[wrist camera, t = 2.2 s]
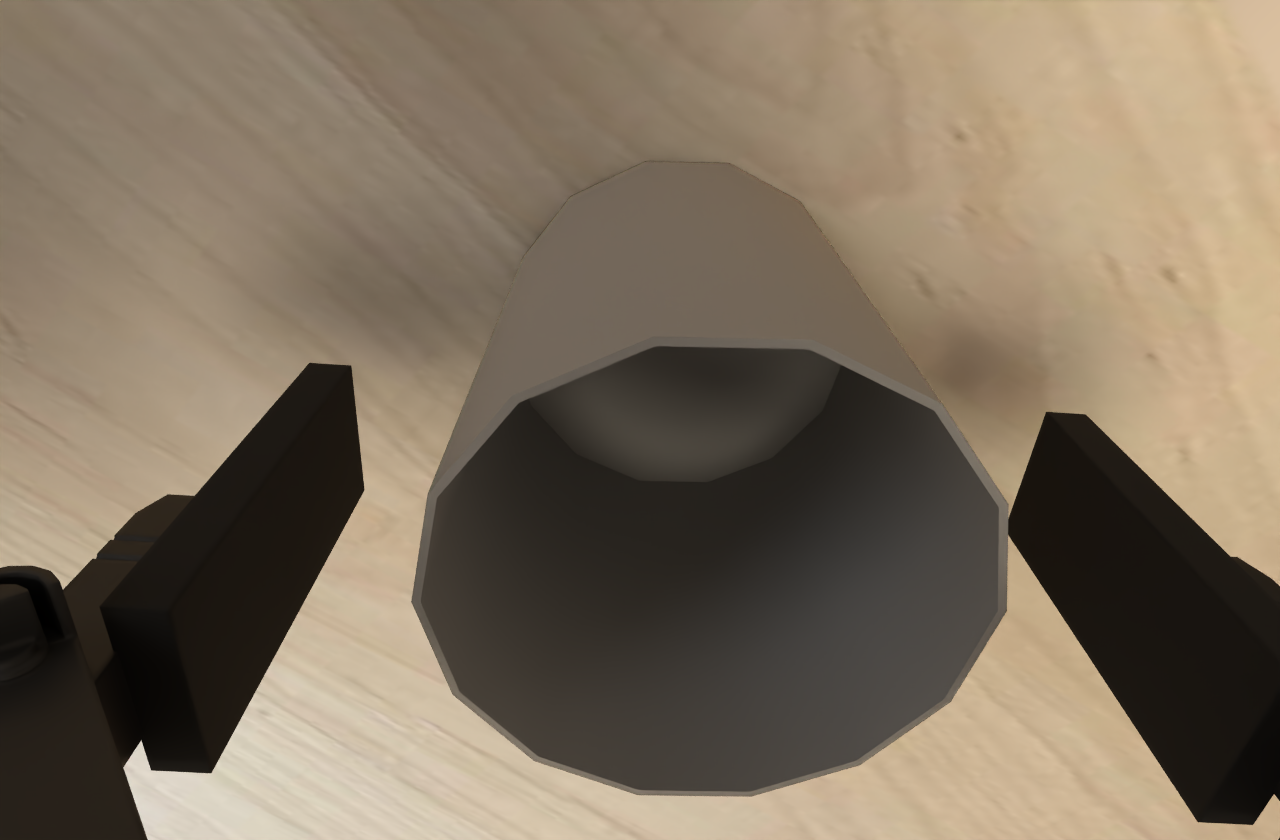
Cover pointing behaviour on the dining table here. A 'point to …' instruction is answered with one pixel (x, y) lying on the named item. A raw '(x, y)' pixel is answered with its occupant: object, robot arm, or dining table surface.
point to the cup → (703, 503)
